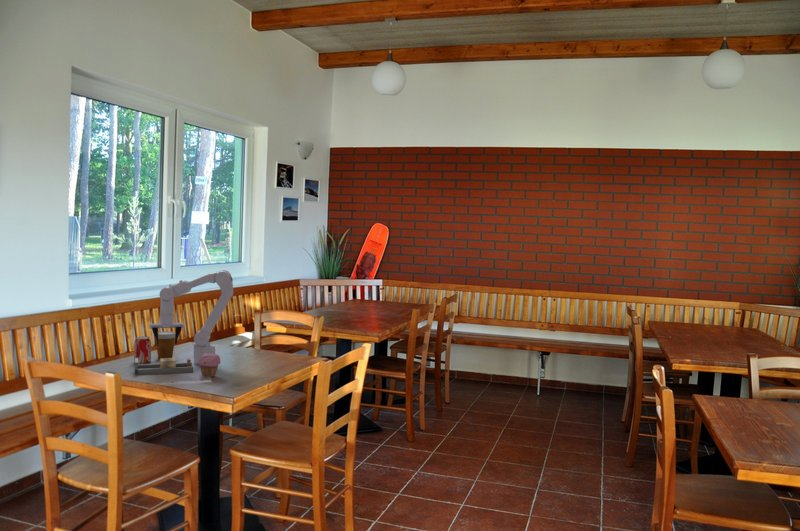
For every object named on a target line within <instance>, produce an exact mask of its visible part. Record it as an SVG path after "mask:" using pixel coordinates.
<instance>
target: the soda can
mask: <svg viewBox="0 0 800 531" xmlns="http://www.w3.org/2000/svg"><path fill="white" fill-rule="evenodd" d="M150 338H151V337H150V336H136V337H135V340H134V342H133V363H134V364H135V358H138V365H144V364H150V363H151V362H152V361H151V360H152V341H151V339H150Z"/></svg>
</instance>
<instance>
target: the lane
mask: <svg viewBox="0 0 800 531" xmlns="http://www.w3.org/2000/svg"><path fill="white" fill-rule="evenodd" d="M179 365H187V362H176V366H179ZM193 372H194V366H193V362H191V367H171V368H160V363H151V364H150V363H143V364H139V363H138V358H135V363H134V375H135V376H136V375H139V376H140V375H156V374H157V375H159V374H175V373H193Z"/></svg>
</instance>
